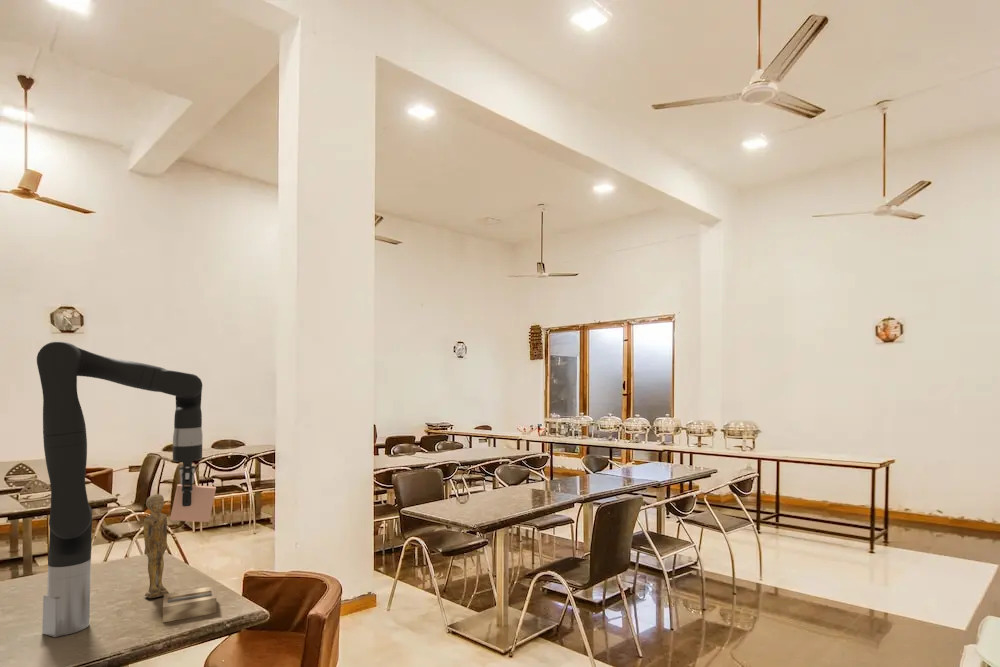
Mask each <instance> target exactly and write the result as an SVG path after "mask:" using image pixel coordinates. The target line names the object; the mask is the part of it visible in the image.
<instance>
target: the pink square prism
mask: <svg viewBox="0 0 1000 667" xmlns="http://www.w3.org/2000/svg"><path fill="white" fill-rule="evenodd" d="M184 487H190V485H184ZM192 488H193V490H192V492H191V505H190V506H183V505H182V500H183V493H182V484H180V483H179V484H178V483H177V485H176V488H175V489H176V490H175V495H174V500H173V504H172V509H171V513H170V519H169V521H175V522H176V521H179V522H194V523H195V522H198V523H199V522H200V523H210V519H211V516H212V515H211V514H212V510H213V505H214V499H215V495H216V490H217V487H216V486H211V485H210V486H209V485H194V484H192Z"/></svg>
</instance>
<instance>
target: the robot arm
mask: <svg viewBox="0 0 1000 667" xmlns="http://www.w3.org/2000/svg"><path fill="white" fill-rule="evenodd" d="M36 365H37V370H38V374H39V379H40V384H41V389H42V390H41V391H42V400H43V401H42V433H43V434H42V435H43V437H42V438H43V449H44V450H43V451H44V457H45V458H44V459H45V464H46V470H47V473H48V478H49V484H50V507H49V508H50V510H49V511H50V512H49V518H48V525H49V540H48V541H49V543H48V555H47V556H48V558H47V559H48V562H47V587H46V588H47V594H44V595H43V597H42V599H43V601H42V602H43V603H42V626H41V628H42V629H41V630H42V633H41V634H43V635H46V636H49V637H53V638H57V637H62V636H66V635H67V636H68V635H71V634H75V633H78V632H80V631H83V630H85V629H87V628H88V627H89V626H90V617H91V616H90V614H91V613H90V611H91V610H90V608H91V604H90V603H91V573H92V572H91V570H92V569H91V568H92V567H91V566H92V537H93V536H92V533H93V532H92V531H93V529H92V527H93V526H92V525H93V509H92V506H91V505H90V504H89V499H88V494H87V488H86V470H87V460H88V456H87V455H88V438H87V427H86V421H85V416H84V414H83V409H82V406H81V404H80V400H79V396H78V377H87V378H92V379H93V378H94V379H99V380H104V381H108V382H112V383H115V384H119V385H122V386H127V387H131V388H135V389H139V390H144V391H149V392H154V393H155V392H156V393H163V394H165V395H166V394H168V395H169V396H170V395H171V396H175V412H174V420H173V422H174V424H173V425H174V427H173V429H174V430H173V435H172V461H173V462H175V463H176V462H177V463H180V462H181V463H182V466H179V475H180V476H179V477H180V482H179V484H182V493H183V500H182V505H183V506H190V505H191V492H192V490H193V488H192V485H194V483H195V472H196V465H193V462H195V461H200V460H202V459H203V428H202V426H203V424H202V423H203V422H202V421H203V420H202V419H203V418H202V417H203V414H202V407H201V406H202V396H203V395H202V393H203V382H202V379H201V378H200V377H199V376H198V375H196V374H193V373H189V372H184V371H183V372H182V371H177V370H171V369H166V368H164V367H160V366H157V365H151V364H148V363H142V362H137V361H132V360H127V359H126V360H124V359H119V358H113V357H110V356H109V357H107V356H104V355H100V354H97V353H93V352H90V351H88V350H87V349H86V350H85V349H83V348H80V347H78V346H76V345H74V344H73V343H70V342H65V341H62V340H61V341H60V340H58V341H57V340H56V341H50V342H49V343H46V344H44V345H43V346H42V347H41V348H40V350H39V351H38V353H37V355H36ZM184 485H190V487H184Z"/></svg>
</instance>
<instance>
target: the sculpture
mask: <svg viewBox="0 0 1000 667" xmlns="http://www.w3.org/2000/svg"><path fill="white" fill-rule="evenodd" d="M164 504H165V498H164V496H163V495H162V494H160V493H159V494H158V493H156V494H153V495H150V496H148V497H147V499H146V501H145V506H146V507H147V509H148V510H149V511H150V514H149V515H147V516H146V517H145V518H144V520H143V539H144V555H145V556H146V557H147V571H148V572H147V573H148V578H149V588H148V591H146V593H145V595H144V596H145V597H147V598H148V599H154V598H158V597H164V594H168V593H170V592H169V591H168V590H167V589H166V587H164V585H163V581H162V579H163V575H164V574H163V573H164V568H165V566H164V565H165V562H164V556H165V555H164V554H165V552H166V551H167V550H168V546H167V541H168V540H167V539H168V538H167V537H168V536H167V535H168V515H167V514H166V513H162V510H163V508H164Z"/></svg>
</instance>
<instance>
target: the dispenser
mask: <svg viewBox="0 0 1000 667" xmlns="http://www.w3.org/2000/svg"><path fill="white" fill-rule="evenodd" d="M162 602H163V603H162V623H167V622H173V621H177V620H178V621H179V620H184V619H188V618H196V617H200V616H206V615H213V614H216V613H217V592H216V586H215V585H213V586H207V587H205V586H204V587H199V588H193V589H187V590H180V591H176V592H175V591H174V592H169V593H168V594H164V596H163V600H162Z"/></svg>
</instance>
